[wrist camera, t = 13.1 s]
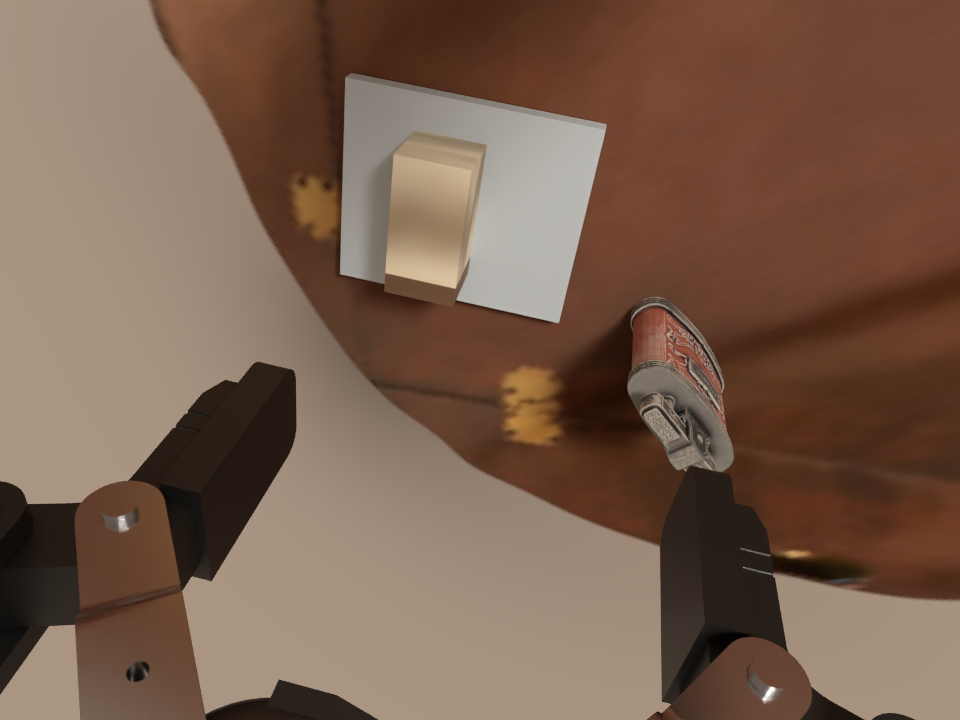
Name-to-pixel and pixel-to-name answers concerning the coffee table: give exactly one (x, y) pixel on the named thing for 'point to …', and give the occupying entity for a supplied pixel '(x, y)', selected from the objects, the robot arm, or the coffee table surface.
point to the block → (432, 216)
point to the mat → (503, 193)
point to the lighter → (678, 387)
